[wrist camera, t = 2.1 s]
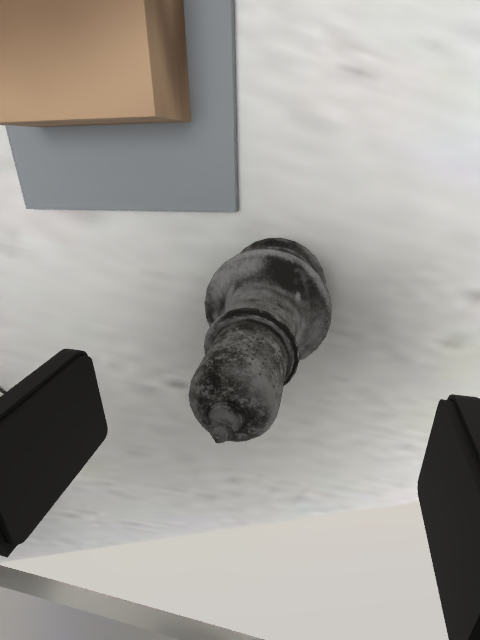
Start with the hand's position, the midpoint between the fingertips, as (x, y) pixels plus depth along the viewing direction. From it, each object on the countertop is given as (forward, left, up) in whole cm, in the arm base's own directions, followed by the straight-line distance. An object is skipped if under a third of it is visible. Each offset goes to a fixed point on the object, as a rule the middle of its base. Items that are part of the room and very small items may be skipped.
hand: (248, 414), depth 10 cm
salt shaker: (0, +1, -11) cm, 11 cm away
